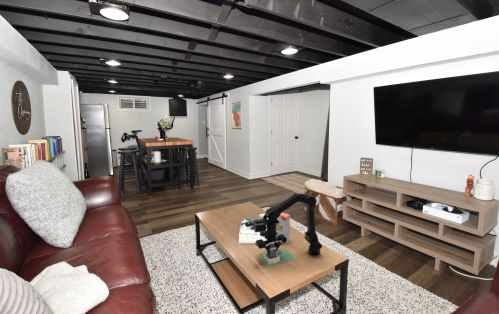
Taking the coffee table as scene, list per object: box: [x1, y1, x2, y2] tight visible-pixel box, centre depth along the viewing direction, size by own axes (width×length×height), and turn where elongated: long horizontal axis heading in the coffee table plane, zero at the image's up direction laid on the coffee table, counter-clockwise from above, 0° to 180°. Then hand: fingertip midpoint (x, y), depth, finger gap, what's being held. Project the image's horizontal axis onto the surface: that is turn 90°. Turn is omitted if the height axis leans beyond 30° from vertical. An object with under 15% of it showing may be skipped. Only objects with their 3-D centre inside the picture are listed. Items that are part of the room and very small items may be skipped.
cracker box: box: [276, 212, 291, 245], centre depth 166 cm, size 14×6×21 cm, turn 51°
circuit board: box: [257, 247, 297, 268], centre depth 146 cm, size 20×14×4 cm
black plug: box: [267, 242, 276, 259], centre depth 143 cm, size 4×4×8 cm
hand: (271, 254), depth 144 cm, fingers closed on black plug, 4 cm apart
